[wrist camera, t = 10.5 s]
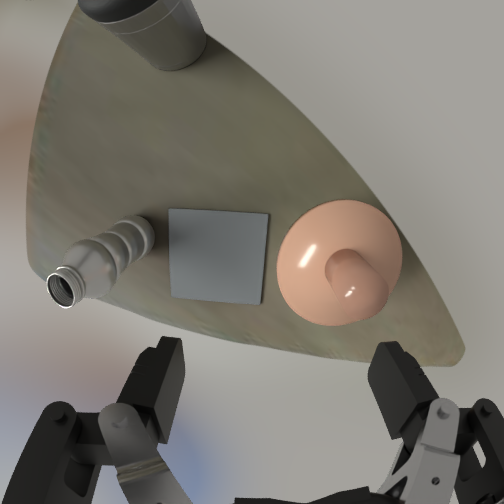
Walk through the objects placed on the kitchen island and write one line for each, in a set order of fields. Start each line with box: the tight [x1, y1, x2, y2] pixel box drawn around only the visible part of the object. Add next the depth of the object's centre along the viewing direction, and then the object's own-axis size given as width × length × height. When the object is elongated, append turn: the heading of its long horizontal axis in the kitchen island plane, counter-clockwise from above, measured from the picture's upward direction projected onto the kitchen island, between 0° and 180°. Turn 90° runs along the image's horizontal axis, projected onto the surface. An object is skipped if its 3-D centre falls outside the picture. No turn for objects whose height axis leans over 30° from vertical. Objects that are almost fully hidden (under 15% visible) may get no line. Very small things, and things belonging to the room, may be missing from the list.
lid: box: [277, 199, 402, 326], centre depth 23 cm, size 13×13×7 cm
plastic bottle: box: [47, 215, 155, 308], centre depth 29 cm, size 6×7×20 cm
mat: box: [169, 208, 268, 305], centre depth 40 cm, size 14×14×1 cm
